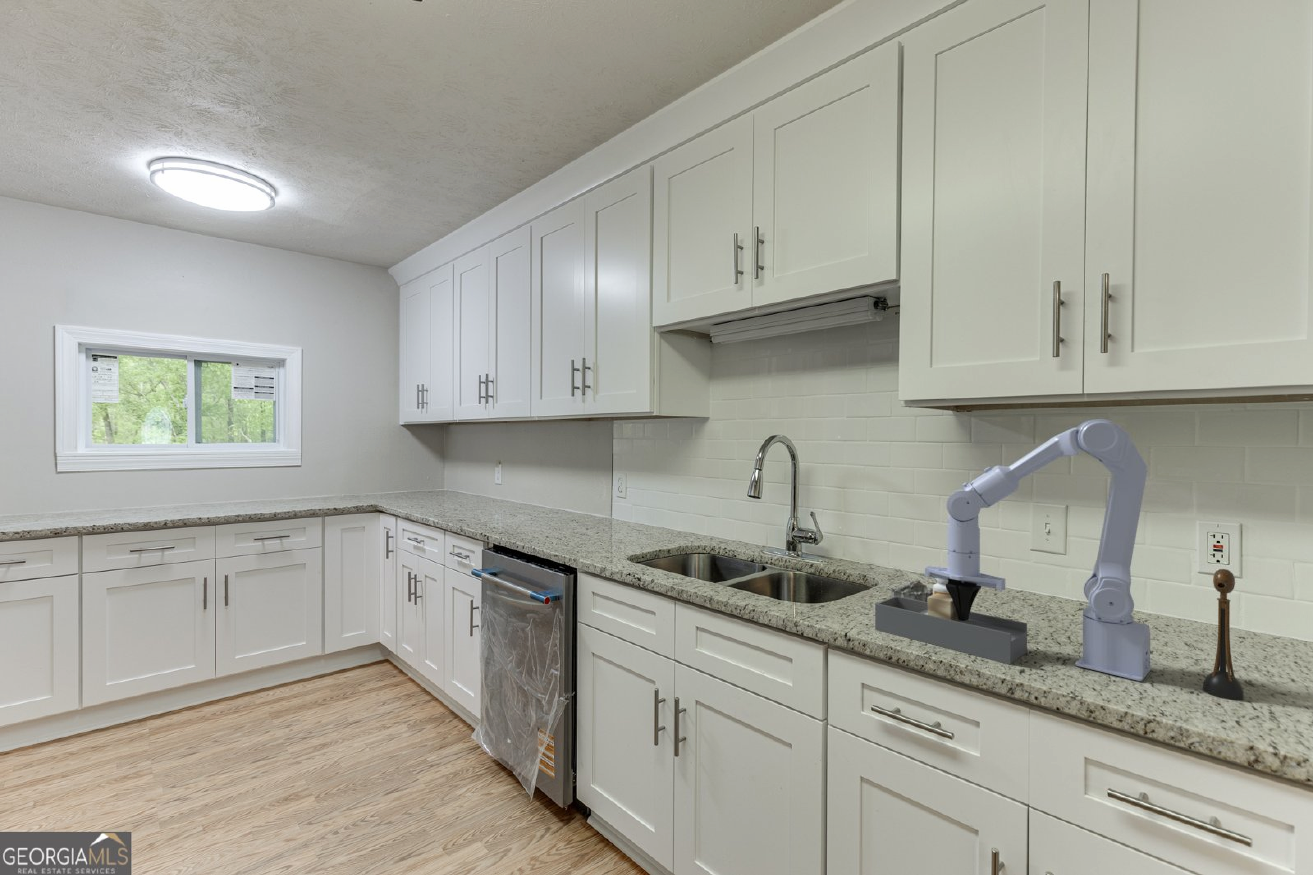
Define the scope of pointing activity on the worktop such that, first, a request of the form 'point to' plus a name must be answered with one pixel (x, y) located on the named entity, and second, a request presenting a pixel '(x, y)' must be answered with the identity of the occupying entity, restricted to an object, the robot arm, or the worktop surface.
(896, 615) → the grey drawer organizer tray
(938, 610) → the maple block
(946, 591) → the supplement bottle
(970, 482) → the robot arm
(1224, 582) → the wooden tabletop sculpture
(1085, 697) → the worktop surface
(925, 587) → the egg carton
